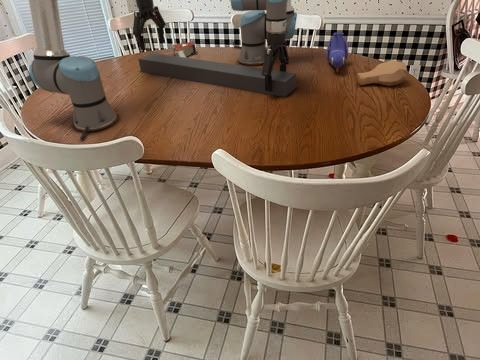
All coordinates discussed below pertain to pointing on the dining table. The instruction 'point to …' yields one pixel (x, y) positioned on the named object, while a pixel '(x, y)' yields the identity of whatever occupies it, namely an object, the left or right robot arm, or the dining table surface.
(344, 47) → the toy
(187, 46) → the tape dispenser
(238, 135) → the dining table surface
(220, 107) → the dining table surface
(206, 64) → the slab
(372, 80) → the squash
